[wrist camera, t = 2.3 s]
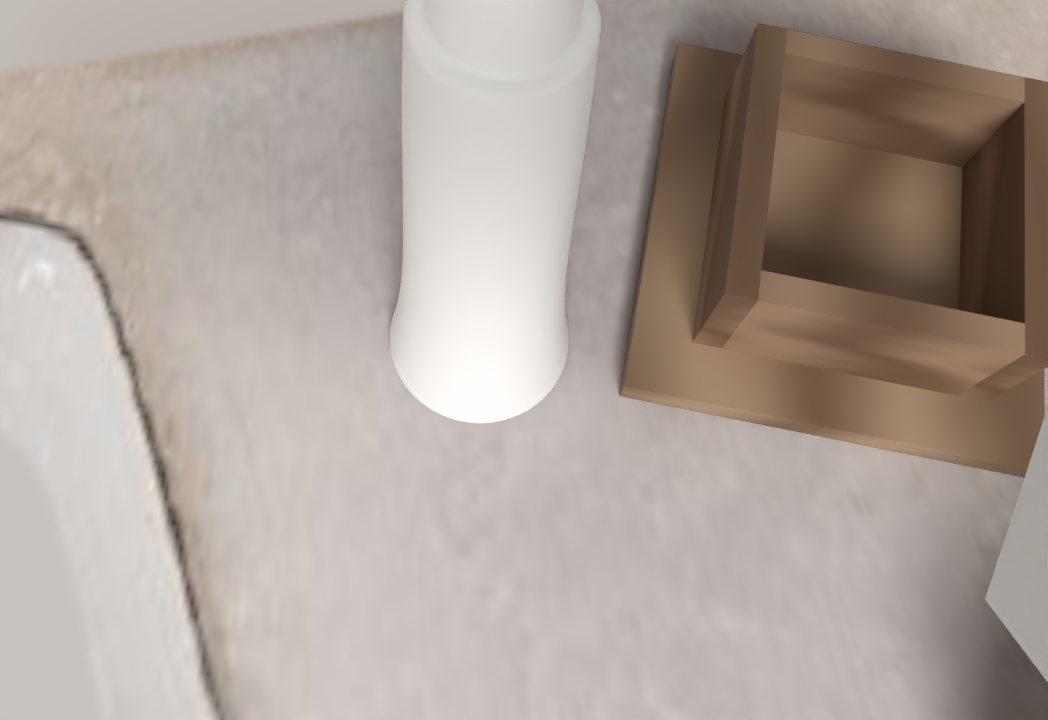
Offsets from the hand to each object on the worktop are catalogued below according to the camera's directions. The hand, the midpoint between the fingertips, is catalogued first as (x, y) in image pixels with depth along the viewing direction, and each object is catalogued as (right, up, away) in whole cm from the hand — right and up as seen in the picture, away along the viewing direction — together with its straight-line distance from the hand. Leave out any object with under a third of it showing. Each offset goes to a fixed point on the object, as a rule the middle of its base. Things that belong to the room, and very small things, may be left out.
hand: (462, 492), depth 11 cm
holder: (+12, +5, +23) cm, 27 cm away
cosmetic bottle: (-1, +2, +22) cm, 22 cm away
